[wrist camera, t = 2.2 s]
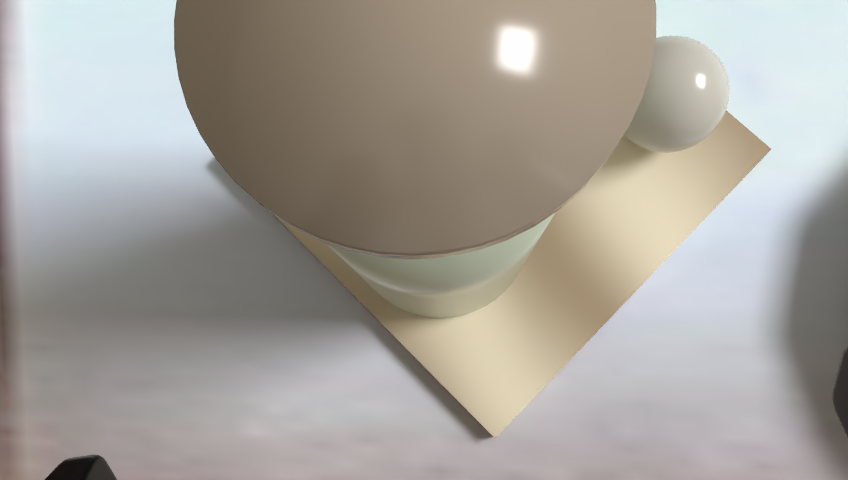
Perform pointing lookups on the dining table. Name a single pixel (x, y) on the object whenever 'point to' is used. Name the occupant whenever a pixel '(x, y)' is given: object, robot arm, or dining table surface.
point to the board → (566, 272)
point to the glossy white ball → (680, 97)
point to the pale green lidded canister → (416, 124)
